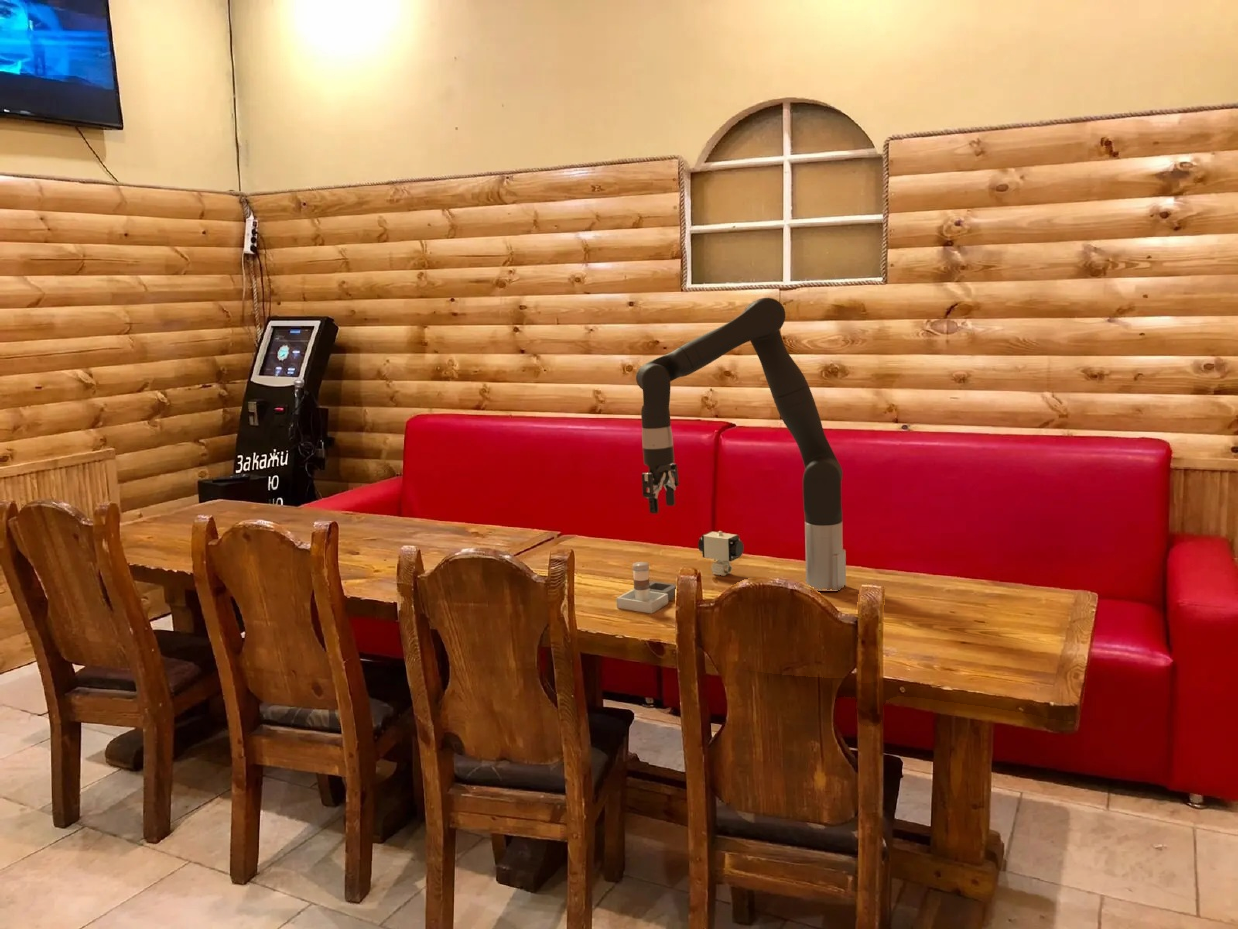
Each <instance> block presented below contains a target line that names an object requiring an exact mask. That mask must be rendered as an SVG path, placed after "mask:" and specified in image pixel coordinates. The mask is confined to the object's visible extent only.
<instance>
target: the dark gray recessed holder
mask: <svg viewBox="0 0 1238 929" xmlns="http://www.w3.org/2000/svg"><path fill="white" fill-rule="evenodd" d="M649 583H650V591H652V592H659V593H666V594H668V602H669V601H671V600H672V599H674V598H675V589H676V583H669V582H664V581H663V582H662V581H657V580H651V581H649Z"/></svg>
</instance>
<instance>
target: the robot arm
mask: <svg viewBox="0 0 1238 929" xmlns="http://www.w3.org/2000/svg"><path fill="white" fill-rule="evenodd" d="M742 312H743V313H741V314H740V315H738V316H737V317H736V318H734V319H732V320H730V321H729V322H727V323H725V324H723V325H721V326H720V327H717V328H715V329H713V330H711V331H709V332H707V333H705V334H703V335H700V336H698V337H695V338H694V339H692V340H691V341H688V342H686V343H684V344H683V345H681V346H679V347H678V348H676V349H674V350H673V351H670V352H669V353H667V354H664V355H662V356H658V357H657V358H654V359H653V360H650V361H648V362H646V363H645V364H643V365H642V366H640V367H639V368H638V369H637V372H636V375H635V380H636V383H637V386H638V387H639V388H640V389H641V390H642V397H643V398H642V402H643V405H641V409H640V411H641V412H640V416H641V431H642V432H641V440H642V441H641V442H642V444H641V445H642V455H643V464H644V465H645V466H647V467H648V472H642V474H641V483H642V484H641V485H642V488H641V489H642V490H641V491H642V497H643V498H647V500H648V505H649V506H648V507H649V508H648V509H649V513H650V514H658V513H659V511H660V509H659V498H658V496H659V493H660V491H661V490H663V489H662V488H663V487H664V489H665V502H666V503H665V505H666V506H669V507H673V506H675V505H676V496H675V491H676V490H677V489H676V488H677V487H679V486H680V484H679V482H680V481H679V472H678V464H677V463H675V452H674V440H673V439H674V438H673V436H674V435H673V432H672V425H671V413H670V412H671V411H670V402H671V401H670V400H671V382H673V381H675V380H676V379H679V378H682V377H687V376H689V375H691V374H693V373H695V372H697V371H699V370H700V369H703V368H705V367H706V366H708V365H709V364H711V363H713V362H714V361H716V360H717V359H719V358H721V357H722V356H724V355H726V354H727V353H729V352H732V350H734V349H736V348H738V347H740V346H742V345H744V344H745V343H746V344H747V343H748V342H750V343H751V345H752V347H753V348H754V351H755V353H756V354H757V357H758V360H759V361H760V365H761V368H762V371H763V373H764V376H765V379H766V382H767V385H768V387H769V391H770V394H771V396H772V400H773V401H774V404H775V406H776V409H777V412H778V415H779V416H780V418H781V420H782V422H783V423H784V425H785V427H786V428H787V430H788V432H789V433H790V434H791V436H792V437H793V439H794V442H796V444H797V446H798V450H799V452H800V455H801V460H802V462H803V466H804V472H803V476H802V500H803V505H802V506H803V513H804V537H805V539H804V540H805V541H804V542H805V543H804V544H805V545H804V546H805V551H804V552H805V585H806V584H808V585H810V586H811V587H814V589H818V591H819V589H821V590H822V589H827V590H830V589H832V590H839V589H841V588H842V587H843V586H844V585H846V586H847V568H846V566H847V564H846V561H847V557H846V556H847V555H846V552H847V551H846V549H844V548H843V546H844V543H843V509H842V508H843V507H842V482H843V481H842V480H843V469H842V466H841V464H840V462H839V460H838V458H837V457H836V455H835V452H834V451H833V448H832V447H831V444H830V442H829V441H828V439H827V436H826V434H825V432H824V427H823V424H822V421H821V417H820V414H819V410H818V407H817V405H816V401H815V399H814V396H813V393H812V391H811V388H810V386H809V384H808V381H807V379H806V377H805V375H804V374H803V372H802V370H801V369H800V368H799V366H798V365H797V363H796V362H795V361H794V360H793V358H792V356H791V355H790V353H789V352H788V350H787V348H786V346H785V343H784V339H783V337H782V333H781V328H782V327H783V325H784V324H785V321H786V310H785V307H784V305H783V304H782V303H781V302H780V301H779V300H777V299H776V298H772V297H762V298H759V299H756V300H755V301H753V302H751V303H749V304H748V305H747V306H746V307H745V308H744V310H743V311H742ZM843 588H844V587H843ZM843 588H842V589H843ZM842 589H841V590H842ZM818 591H817V592H818Z"/></svg>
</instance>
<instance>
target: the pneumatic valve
mask: <svg viewBox="0 0 1238 929" xmlns="http://www.w3.org/2000/svg"><path fill="white" fill-rule="evenodd" d="M697 546H698V550H699V551H700V552H701V554H702V558H703V559H711V560H713V562H712V563H711V566H710V568H711V571H712V575H714V576H720V575H721V576H722V577H725V576H726V575H729V574H731V572H732V570H733V567H732V565H731V562H733V561H735V560H738V559H740V558H741V556H742V555H743V552H744V543H743V541H742V540H741V538H740V535H739V534H733V533H729V532H728V533H726V532H723V531H722V530H719V531H709V532H707V533H704V534H702V535H701V537H699V540H698V544H697Z"/></svg>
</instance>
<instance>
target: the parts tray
mask: <svg viewBox="0 0 1238 929" xmlns="http://www.w3.org/2000/svg"><path fill="white" fill-rule="evenodd" d="M634 598H635V595H634V588H632V589H631V590H629V591H627V592H625V593H623V594H621V595H619V596H617V597H616V598H615V599H616V600H615V601H616V608H618V609H622V610H629V611H635V612H640V613H647V614H653V613H655V612H657V611H658V610H660V609H662V608H663V607H665V606H666V605H668V604H669V601H668V594H666V593H659V592H652V591H650V599H651V602H644V601H638V600H634Z"/></svg>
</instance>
